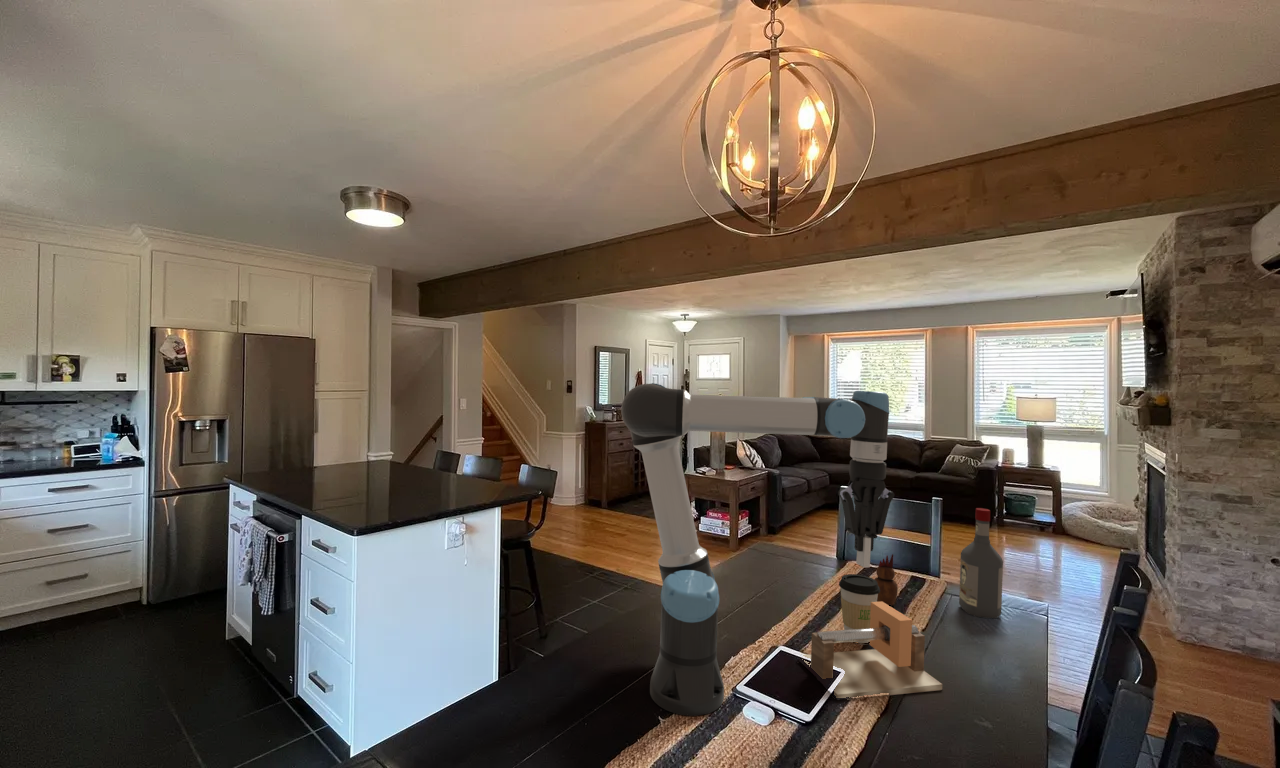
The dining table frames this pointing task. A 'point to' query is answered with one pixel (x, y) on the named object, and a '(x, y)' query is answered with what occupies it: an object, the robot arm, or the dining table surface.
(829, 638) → the pipe
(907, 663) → the orange square ring
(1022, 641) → the dining table surface
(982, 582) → the liquor
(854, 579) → the coffee cup
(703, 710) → the robot arm
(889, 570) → the wooden figurine
